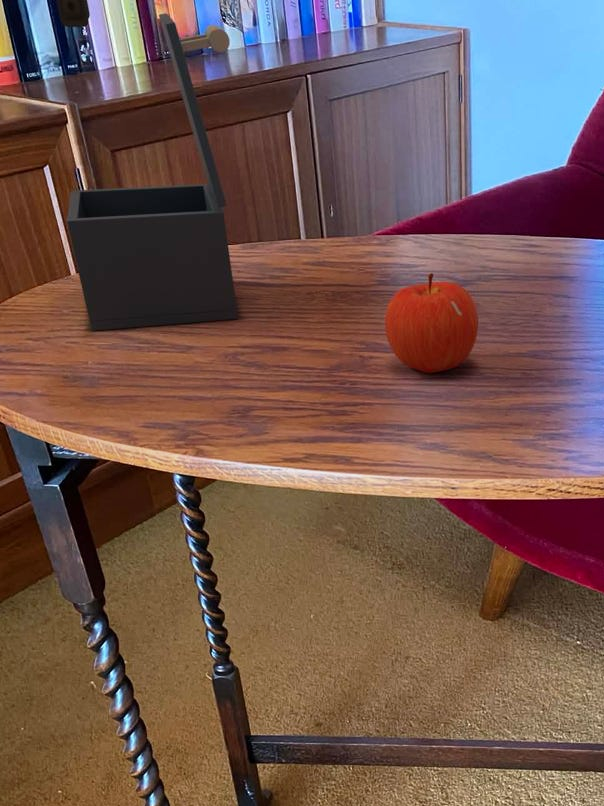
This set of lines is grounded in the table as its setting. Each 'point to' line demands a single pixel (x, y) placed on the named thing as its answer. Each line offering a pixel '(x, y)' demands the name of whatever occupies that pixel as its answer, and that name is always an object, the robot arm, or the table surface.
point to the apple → (432, 325)
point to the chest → (151, 256)
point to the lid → (176, 48)
